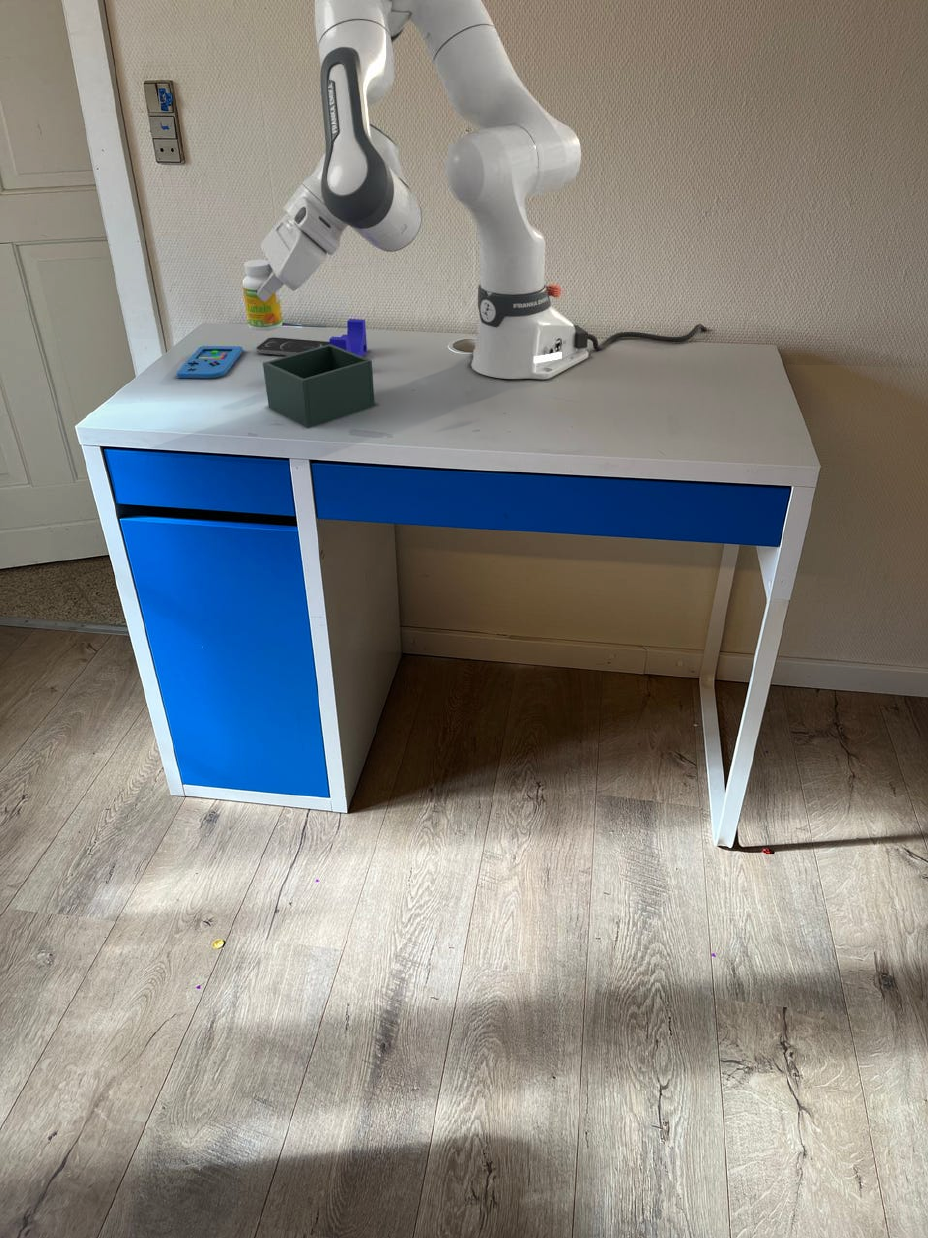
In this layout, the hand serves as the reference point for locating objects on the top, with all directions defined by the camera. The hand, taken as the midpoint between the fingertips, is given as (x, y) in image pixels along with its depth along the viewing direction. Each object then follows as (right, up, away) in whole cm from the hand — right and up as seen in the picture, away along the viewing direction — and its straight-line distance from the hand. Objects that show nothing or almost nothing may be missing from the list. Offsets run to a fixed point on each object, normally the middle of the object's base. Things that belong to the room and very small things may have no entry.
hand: (257, 291), depth 145 cm
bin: (+9, -16, +9) cm, 20 cm away
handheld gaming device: (-14, -4, +27) cm, 31 cm away
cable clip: (+10, -3, +27) cm, 29 cm away
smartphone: (+1, 0, +32) cm, 32 cm away
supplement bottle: (+1, -4, +3) cm, 6 cm away
